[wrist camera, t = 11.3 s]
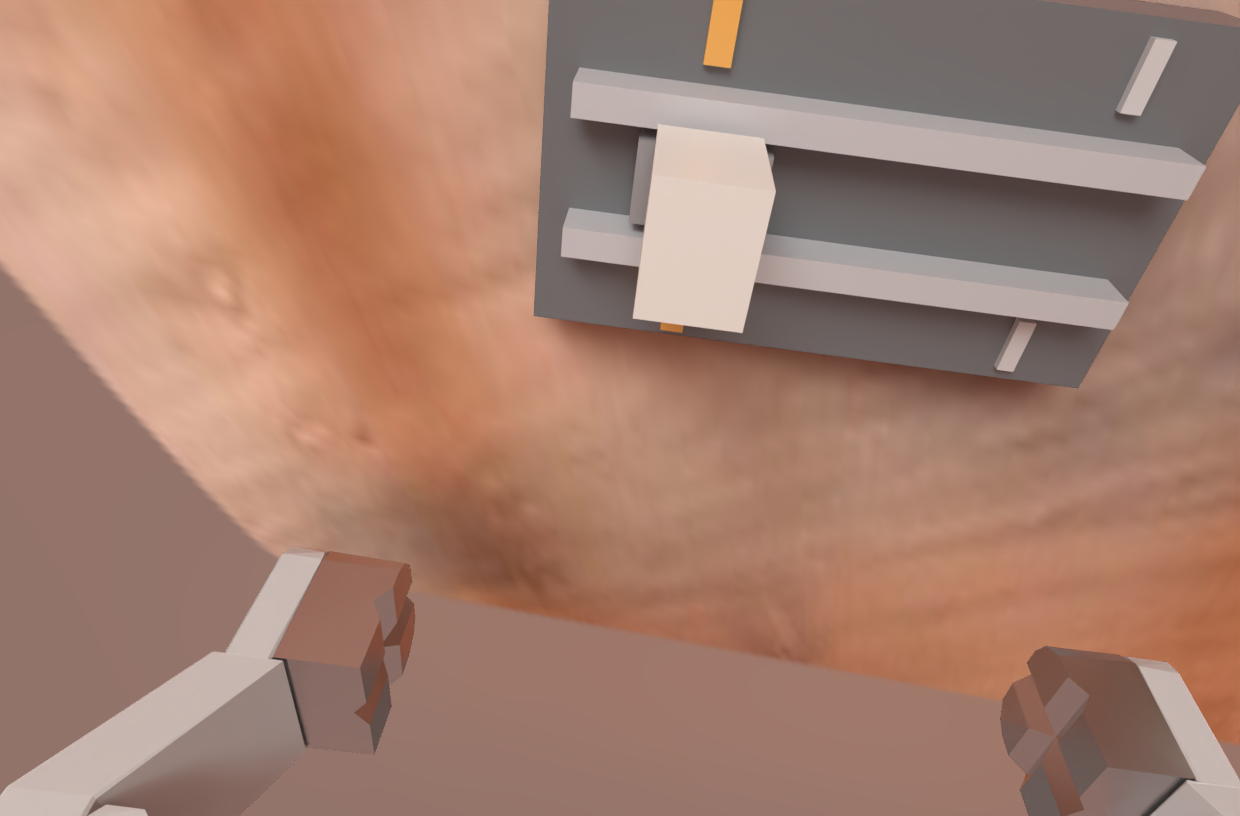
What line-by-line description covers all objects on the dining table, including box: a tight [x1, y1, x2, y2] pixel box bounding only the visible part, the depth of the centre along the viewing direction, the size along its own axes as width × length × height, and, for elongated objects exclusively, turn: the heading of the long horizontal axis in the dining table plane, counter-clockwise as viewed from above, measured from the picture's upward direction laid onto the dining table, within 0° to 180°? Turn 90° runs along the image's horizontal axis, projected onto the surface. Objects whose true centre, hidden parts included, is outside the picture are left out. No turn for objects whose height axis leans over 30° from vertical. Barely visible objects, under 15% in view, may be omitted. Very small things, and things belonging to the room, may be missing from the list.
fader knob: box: [629, 124, 776, 333], centre depth 22 cm, size 4×4×6 cm
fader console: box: [534, 0, 1240, 388], centre depth 26 cm, size 20×12×5 cm, turn 84°
